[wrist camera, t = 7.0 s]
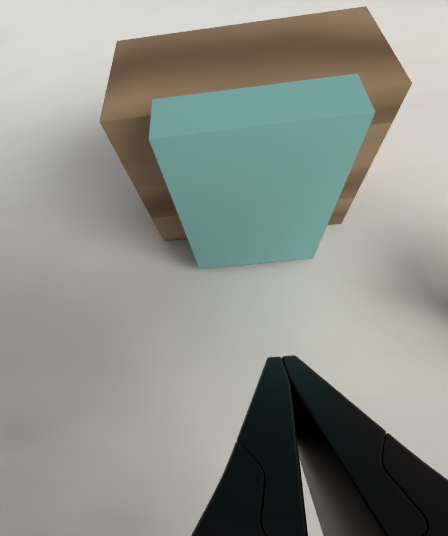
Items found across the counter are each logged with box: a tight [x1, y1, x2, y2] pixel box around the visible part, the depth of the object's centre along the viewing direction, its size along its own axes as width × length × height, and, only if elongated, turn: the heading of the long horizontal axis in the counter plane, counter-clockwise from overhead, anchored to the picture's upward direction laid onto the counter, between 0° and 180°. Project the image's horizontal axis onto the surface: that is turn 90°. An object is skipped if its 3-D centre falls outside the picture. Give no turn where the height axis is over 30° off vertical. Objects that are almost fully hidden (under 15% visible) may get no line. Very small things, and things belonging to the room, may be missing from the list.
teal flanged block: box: [149, 74, 375, 269], centre depth 15 cm, size 9×7×10 cm
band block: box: [100, 7, 412, 241], centre depth 16 cm, size 6×12×9 cm, turn 93°
